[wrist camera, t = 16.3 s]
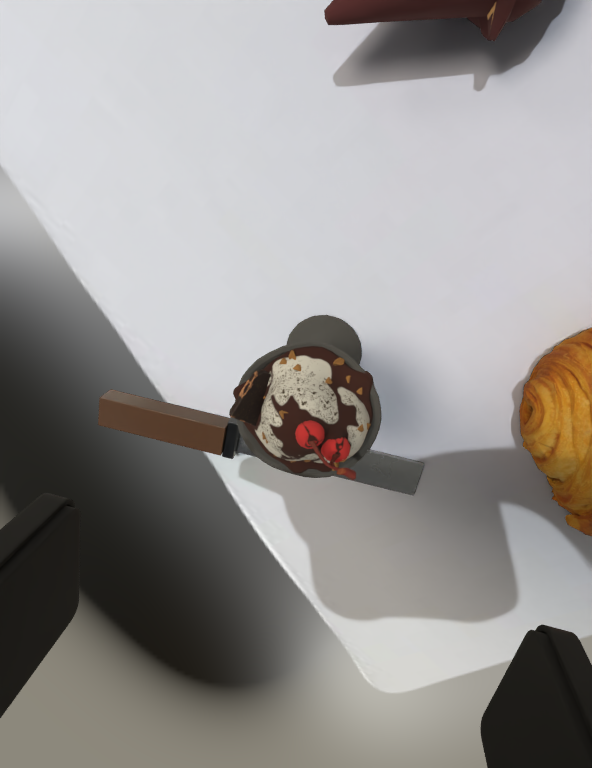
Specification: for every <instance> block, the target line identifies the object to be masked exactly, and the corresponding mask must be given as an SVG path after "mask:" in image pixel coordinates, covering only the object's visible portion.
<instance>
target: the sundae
mask: <svg viewBox="0 0 592 768" xmlns="http://www.w3.org/2000/svg"><path fill="white" fill-rule="evenodd" d="M360 360H361V344H360V341H359V338H358V336H357V334H356V333H355V331H354V330H353V328H352V327H350V326H349V325H348V324H347V323H346V322H344V321H343V320H341V319H339V318H336V317H333V316H328V315H319V316H313V317H310V318H308V319H305V320H304V321H302V322H300V323H299V324H298V325H297V326H296V327H295V328H294V329H293V331H292V332H291V334H290V335H289V338H288V341H287V345H286V346H282V347H280V348H278V349H276V350H274V351H271V352H269V353H268V354H266V355H264V356H263V357H261V358H259V359H258V360H256V361H255V362H254V363H253V364H252V365H251V366H250V367H249V368H248V370H247V371H246V372H245V374H244V375H243V376H242V378H241V381H240V383H239V385H238V386H237V387H236V388H235V389H234V392H233V394H234V397H235V399H236V400H235V403H234V405H233V406H232V408H231V409H230V414H229V415H230V416H231V417H232V418H235V419H236V421H237V425H238V429H239V433H240V434H241V436H242V438H243V440H244V442H245V444H246V445H247V446H248V448H249V449H250V450H251V452H252V453H253V454H254V455H255V456H257V457H258V458H259V459H261V460H262V461H263V462H265V463H267V464H268V465H270V466H272V467H274V468H277V469H279V470H282V471H285V472H288V473H291V474H295V475H299V476H303V477H312V478H320V477H330V476H333V475H336V474H338V475H345V476H346V477H347V478H349V479H351V480H354V479H356V472H355V471H354V470H352V469H349V468H351V467H353V466H354V465H355V464H356V463H357V462H358V461H359V460H361V459H362V458H363V457H364V455H365V454H366V453H367V452H368V451H369V449H370V448H371V446H372V444H373V443H374V441H375V439H376V437H377V434H378V431H379V428H380V423H381V407H380V401H379V396H378V394H377V392H376V390H375V388H374V385H373V378H372V375H371V374H370V373H369V372H367V371H364V370H363V369H362V368H361V367H360V366H359V364H360Z"/></svg>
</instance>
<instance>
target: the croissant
mask: <svg viewBox="0 0 592 768" xmlns="http://www.w3.org/2000/svg"><path fill="white" fill-rule="evenodd" d="M520 428H521V435H522V437H523V439H524V442H523V447H524V448H525V449H527V450H528V451H529V452H530V453H531V454H532V457H533V459H534V461H535V463H536V465H537V467H538V469H539V470H541V471H542V472H543V473H545V474H546V475H547V479H548V482H549V484H550V486H552V488H553V489H552V492H553V493H554V496H553V497H552V499H553V500H555V501H557V502H558V504H559V506H561V507H563V508H565V509H566V510H567V511H569V512H570V513H571V514H570V515H566V516H565V519H566V522H567V524H568V525H569V526H571V527H573V528H575V529H577V530H579V531H581V532H583V533H584V534H586V535H589V536H592V328H590V329H588V330H585V331H583V332H581V333H579V334H578V335H576V336H575V337H572V338H569V339H566V340H564V341H563V342H561V343H560V345H557V346H555V347H554V349H553V351H552V352H551V353H549V354H547V355H545V356H544V357H543V358H542V359H541V360H540V361H539V363H538V364H537V365H536V367H535V368H534V370H533V372H532V374H531V376H530V379H529V381H528V382H527V383H526V384H525V386H524V397H523V400H522V403H521V406H520Z"/></svg>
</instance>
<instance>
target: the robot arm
mask: <svg viewBox="0 0 592 768" xmlns="http://www.w3.org/2000/svg"><path fill="white" fill-rule="evenodd" d="M80 522H81V513H80V510H79V509H77V508H75V503H74V501H73V500H71V499H68V498H64V497H60V496H57V495H53V494H49V493H44V494H42V495H40V496H39V497H38V498H37V499H35V500H34V501H33V502H32V503H31V504H30V505H28V506H27V507H26V508H25V509H24V510H23V511H21V512H20V513H19V514H18V515H17V516H16V517H14V518H13V519H12V520H11V521H10V522H9V523H7V524H6V525H5V526H4V527H3V528H2V529H1V530H0V718H1V716H2V715H3V714H4V712H5V711H6V710H7V708H8V707H9V706H10V704H11V703H12V701H13V700H14V699H15V697H16V696H17V695H18V693H19V692H20V690H21V689H22V688H23V686H24V685H25V684H26V682H27V681H28V679H29V678H30V677H31V675H32V674H33V673H34V671H35V670H36V668H37V667H38V666H39V664H40V663H41V661H42V660H43V659H44V657H45V656H46V655H47V653H48V652H49V651H50V649H51V648H52V646H53V645H54V644H55V642H56V641H57V640H58V638H59V637H60V635H61V634H62V632H63V631H64V630H65V629H66V627H67V626H68V624H69V623H70V621H71V620H72V618H73V617H74V615H75V613H76V610H77V607H78V602H79V567H80V524H81V523H80ZM481 738H482V743H483V748H484V753H485V757H486V762H487V767H488V768H592V665H591V663H590V661H589V659H588V657H587V655H586V653H585V651H584V649H583V646H582V644H581V642H580V640H579V639H578V637H577V636H576V635H575V634H574V633H572V632H568V631H565V630H561V629H557V628H553V627H550V626H546V625H540V626H538V627H537V629H536V630H535V631H534V630H530V631H528V632H527V634H526V635H525V637H524V639H523V641H522V643H521V645H520V647H519V649H518V650H517V652H516V654H515V656H514V658H513V660H512V662H511V664H510V665H509V667H508V669H507V671H506V673H505V675H504V677H503V679H502V680H501V682H500V684H499V686H498V688H497V690H496V692H495V694H494V696H493V697H492V699H491V701H490V703H489V705H488V707H487V709H486V711H485V713H484V714H483V717H482V721H481Z"/></svg>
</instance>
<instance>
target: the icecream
mask: <svg viewBox="0 0 592 768" xmlns="http://www.w3.org/2000/svg"><path fill="white" fill-rule="evenodd" d="M541 1H542V0H333V1H332V2H331V3H330V5H329V6H328V7H327V8H326V9H325V10H324V12H325V19H326V21H327V23H328V25H347V24H361V23H376V22H393V21H411V20H430V19H448V18H466V17H467V19H468V20H470V21H471V22H472V23H474V24H475V25H476V26H478V27H479V28H480V29H481V34H482V35H483V37H485V38H486V39H487V40H489V41H491V40H492V41H494V42H495V40H496V38H497V37H498V35H499V34H500V32H501V30H502V29H503V27H504V26H505V24H506V22H513V21H514V20H516V19H518V18H519V17H521V16H522V15H524V14H525V13H527V12H528V11H530V10H532V9H533V8H535V7H536V6H538V5H539V4H540V3H541Z"/></svg>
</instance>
